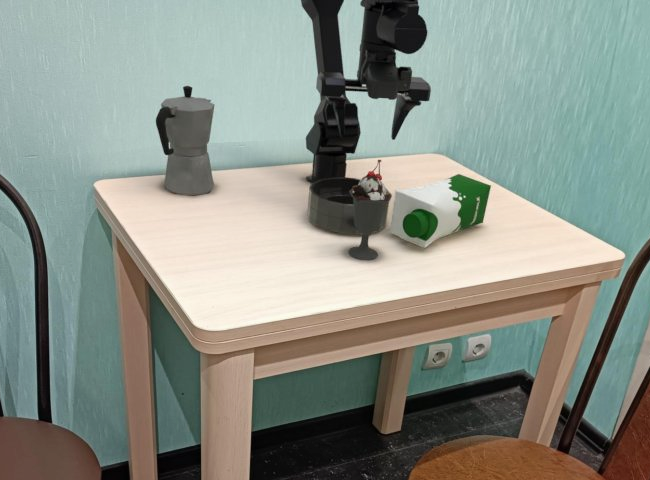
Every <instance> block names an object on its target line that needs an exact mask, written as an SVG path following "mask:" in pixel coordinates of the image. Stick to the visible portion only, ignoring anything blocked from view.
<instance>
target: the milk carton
mask: <svg viewBox="0 0 650 480" xmlns="http://www.w3.org/2000/svg"><path fill="white" fill-rule="evenodd" d="M491 187H492V185H491V184H488V183H485V182H482V181H480V180H476V179H474V178H471V177H468V176H465V175H463V174H460V173H458V174H455V175H453V176H450V177H449V178H446V179H441V180H439V181H435V182H432V183H428V184H425V185H422V186H418V187H411V188H404V189H403V188H402V189H396V190H395V191H394V199H393V205H392V213H391V219H390V224H389V225H390V227H389V233H390V234H392V235H394V236H397V237H399V238H400V239H401V240H404V241H406V242H409V243H412V244H414V245H416V246H419V247H421V248H423V249H425V248H427V247H428V246H429V245H430V244H432V243H434V241H436V240H439V239H441V238H444V237H446V236H448V235H452V234H454V233H457V232H459V231H462V230H464V229H465V230H466V229H468V228H471V227H474V226H477V225H480V224H483V223H484V219H485V215H486V211H487V206H488V201H489V196H490V192H491Z"/></svg>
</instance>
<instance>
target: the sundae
mask: <svg viewBox="0 0 650 480" xmlns="http://www.w3.org/2000/svg"><path fill="white" fill-rule="evenodd" d="M381 162H382V159H377V164H376V166H375V168H374V169H373V170H368V171H367V174H366V175H365V176H363V177H362V178H361V180H360V182H359V184H358V185H357V186H353V189H351V190H350V191H349V192H350V194H351V196H352V197H353V204H354V224H355V227H356V228H357V230H358V231H359V232H360V233H361V234H360V235H361V241H360V242H359V243H360V244H359V245H358V246H352V247H350V248H349V249H348V251H347V254H348V255H349V256H350V257H352V258H354V259H357V260H360V261H372V260H375V259H377V258H378V257H379V253H378V251H377V250H375V249H373V248H371V247H370V245H369V240H370V239H369V238H370V236H371V235H372V234H373V233H376V232H377V231H376V230H377V229H378V228H379V225H380V222H381V219H382V216H383V212H384V208H385V205H386V203H387V202H389V201H390V202H391V199H392V197H393V194H392V193H391V192H389V191H388V192H386V189H387V187H386V185H385V184H384V183H383V181H382V179H383V177H382V175H381V166H380V165H381V164H380V163H381ZM377 168H378V173H375V171H376V169H377ZM390 202H389V203H390ZM375 231H376V232H375Z"/></svg>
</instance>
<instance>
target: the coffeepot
mask: <svg viewBox="0 0 650 480" xmlns="http://www.w3.org/2000/svg"><path fill="white" fill-rule="evenodd" d="M182 90H183V95H184V96H177V97H170V98H165V99H164V100H163V101H162V102H161V103H160V105H161V106H160V107H161V108H160V109H159V111H158V113H157V114H156V118H155V127H156V129H157V132H158V136H159V140H160V144H161V147H162V151H163V154H164V155H165V156H167V160H166V167H165V169H166V170H165V175H164V181H163V187H164V188H165V189H166V190H167V191H169V192H171V193H174V194H176V195H177V194H178V195H182V196H200V195H205V194H208V193H209V192H212V190H213V187H214V185H215V184H214V177H213V172H212V165H211V160H210V154H209V152H208V145H209V143H210V138H211V131H212V124H213V117H214V112H215V111H214V110H215V103H213V102H211V101H212V99H207V98H205V97H194V96H192V94H193V87H192V86H191V85H185V86H183V87H182Z"/></svg>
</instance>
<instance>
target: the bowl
mask: <svg viewBox="0 0 650 480" xmlns="http://www.w3.org/2000/svg"><path fill="white" fill-rule="evenodd" d="M361 179H362V178H361ZM361 179H360V178H356V177H355V178H354V177H346V176H345V177H334V178H325V179H320V180H317V181H315V182H313V183H312V182H311V183H310V186H309V188H308V201H307V209H306V211H307V213H306V215H307V217H308V220H309V221H310V222H311V223H312V224H314V225H315V226H316V227H319V228H322V229H324V230H326V231H331V232H335V233H339V234H347V235H348V234H349V235H362V234H361V233H360V232H359V231H358V230H357V228H356V227H355V224H354V204H353V197H352V196H351V194H350V192H349V191H350V190H351V189H353V186H357V185H358V184H359V182H360V180H361ZM386 192H389V190H388V189H387V188H386ZM390 203H391V200H390V201H389V202H387V203H386V205H385V208H384V212H383V216H382V219H381V222H380V225H379V228H378V229H377V230H376V231H375V232H374V233H376V232H379V231H381V230H382V229H384V228H386V226H387V222H388V217H389V216H388V215H389V209H390Z"/></svg>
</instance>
